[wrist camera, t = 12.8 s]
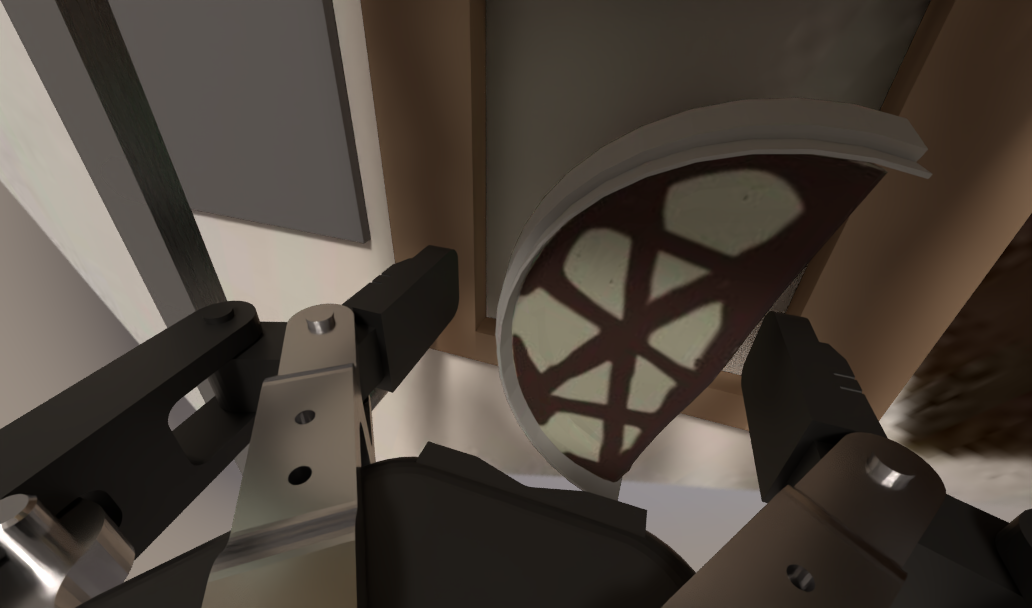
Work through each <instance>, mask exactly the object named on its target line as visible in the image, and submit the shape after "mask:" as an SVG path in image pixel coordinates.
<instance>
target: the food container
mask: <svg viewBox="0 0 1032 608" xmlns="http://www.w3.org/2000/svg"><path fill="white" fill-rule="evenodd" d="M927 150H928V148H927V147H926V145H925V144H924V142H923V141H922V139H921V138H920V137H919V135H918V134H917V132H916V131H915V129H914V128H913V126H912V125H911V123H910V122H909V120H908V119H906V118H903V117H899V116H896V115H892V114H888V113H885V112H881V111H878V110H874V109H871V108H867V107H864V106H860V105H856V104H849V103H841V102H832V101H824V100H815V99H807V98H772V99H745V100H738V101H732V102H727V103H722V104H716V105H711V106H706V107H700V108H695V109H690V110H687V111H684V112H681V113H678V114H675V115H673V116H670V117H667V118H664V119H661V120H658V121H655V122H652V123H650V124H647V125H644V126H642V127H640V128H638V129H636V130H634V131H632V132H630V133H628V134H626V135H624V136H623V137H621V138H619V139H617V140H615V141H613V142H611V143H609V144H607V145H605V146H603V147H602V148H601V149H599V150H598V151H596V152H595V153H594V154H592V155H591V156H590V157H588V158H587V159H586V160H584V161H583V162H582V163H580V164H579V165H578V166H576V167H575V168H574V169H572V170H571V171H569V172H568V173H567V175H566V176H565V177H564V178H563V179H562V180H561V181H560V182H559V183H558V184H557V185H556V186H555V187H554V188H553V189H552V190H551V191H550V192H549V193H548V194H547V195H546V196H545V197H544V198H543V200H542V201H541V202H540V204H539V205H538V207H537V208H536V210H535V211H534V213H533V214H532V216H531V217H530V218H529V220H528V221H527V223H526V224H525V226H524V228H523V230H522V232H521V234H520V237H519V239H518V241H517V243H516V245H515V248H514V250H513V252H512V254H511V258H510V261H509V265H508V269H507V272H506V276H505V280H504V283H503V287H502V291H501V295H500V299H499V303H498V306H497V318H496V333H495V336H496V344H497V358H498V367H499V375H500V379H501V383H502V386H503V389H504V393H505V396H506V399H507V402H508V404H509V406H510V408H511V410H512V412H513V414H514V416H515V418H516V420H517V422H518V424H519V426H520V427H521V429H522V430H523V431H524V433H525V434H526V436H527V437H528V439H529V440H530V442H531V443H532V445H533V446H534V447H535V448H536V449H537V450H538V451H539V453H540V454H541V455H542V456H543V457H544V458H545V459H546V460H547V462H548V463H549V464H550V465H551V466H553V467H554V468H555V469H556V470H557V471H558V472H559V473H560V474H562V475H563V476H564V477H565V478H566V479H567V480H568V481H569V482H571V483H572V484H574V485H575V486H577V487H578V488H579V489H581V490H582V491H586V492H591V493H594V494H597V495H600V496H603V497H607V498H610V499H613V500H616V501H618V496H619V490H620V486H621V480H622V476H623V475H624V474H625V473H627V472H628V471H629V470H630V468H631V466H632V464H633V463H634V462H635V460H636V459H637V458H638V456H639V455H640V454H641V453H642V452H643V451H644V449H645V448H646V447H647V446H648V445H649V444H650V443H651V442H652V441H653V440H654V438H655V437H656V436H657V435H658V434H659V433H660V432H661V431H662V430H663V429H664V428H665V427H666V426H667V425H668V424H669V423H670V422H671V421H672V420H673V419H674V418H675V417H676V416H677V415H679V414H680V413H681V412H682V411H683V410H684V409H685V408H686V407H687V406H688V405H690V404H691V403H692V402H693V401H694V400H695V399H696V398H697V397H698V396H699V395H700V394H701V393H702V392H703V391H704V390H705V389H706V388H707V387H708V386H709V385H710V384H711V383H712V382H713V381H714V379H715V378H716V377H717V376H718V374H719V373H720V372H721V371H722V369H723V368H724V367H725V366H726V364H727V363H728V362H729V360H730V359H731V358H732V357H733V355H734V354H735V353H736V351H737V350H738V349H739V347H740V346H741V345H742V343H743V342H744V341H745V339H746V338H747V337H748V335H749V334H750V333H751V332H752V330H753V329H754V328H755V327H756V325H757V324H758V323H759V322H760V320H761V319H762V318H763V317H764V315H765V314H766V313H767V312H768V310H769V309H770V308H771V307H772V305H773V304H774V303H775V302H776V300H777V299H778V298H779V297H780V295H781V294H782V293H783V292H784V290H785V289H786V288H787V287H788V286H789V285H790V284H791V282H792V281H793V280H794V279H795V278H796V277H797V276H798V274H799V273H800V272H801V271H802V270H803V269H804V268H805V266H806V265H807V264H808V263H809V262H810V261H811V260H812V258H813V257H814V256H815V255H816V254H817V253H818V251H819V250H820V249H821V248H822V247H823V246H824V245H825V243H826V242H827V241H828V240H829V239H830V238H831V237H832V235H833V234H834V233H835V232H836V231H837V230H838V229H839V227H840V226H841V225H842V224H843V223H844V222H845V221H846V219H847V218H848V217H849V216H850V215H851V214H852V213H853V211H854V210H855V209H856V208H857V207H858V206H859V205H860V203H861V202H862V201H863V200H864V199H865V198H866V197H867V195H868V194H869V193H870V192H871V191H872V190H873V189H874V187H875V186H876V185H877V184H878V183H879V182H880V181H881V179H882V178H883V177H884V176H885V175H886V174H887V173H888V171H886V170H885V169H884V168H882V167H879V166H877V165H874V164H872V163H875V164H879V165H882V166H885V167H889V168H892V169H896V170H899V171H902V172H906V173H909V174H913V175H916V176H919V177H923V178H926V179H929V178H930V177H931V175H932V173H931V172H929V171H928V170H926V169H925V168H924V167H922V166H921V165H919V164H918V163H917V161H918V160H919V159H920V158H921V157H922V156H923V155H924V153H925V152H926V151H927ZM869 162H871V163H869Z"/></svg>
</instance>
